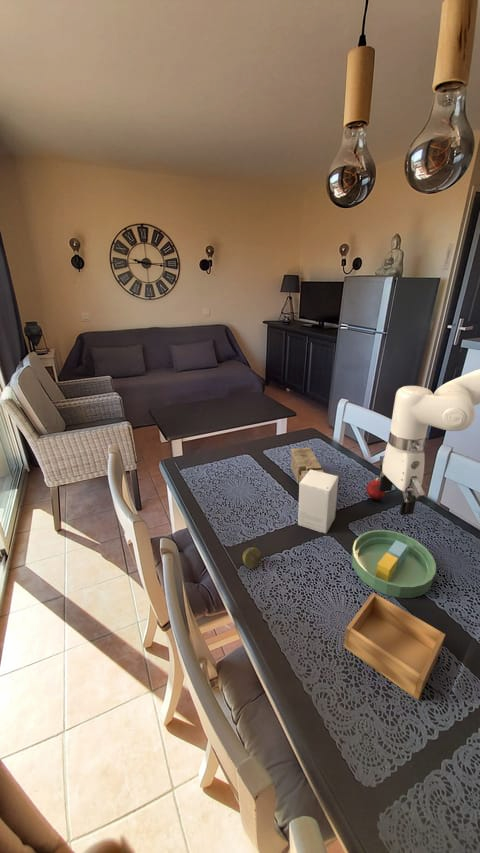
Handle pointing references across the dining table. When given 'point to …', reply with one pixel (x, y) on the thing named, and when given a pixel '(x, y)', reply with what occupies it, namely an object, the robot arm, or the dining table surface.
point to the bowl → (407, 578)
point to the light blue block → (398, 551)
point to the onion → (374, 490)
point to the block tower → (303, 462)
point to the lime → (251, 557)
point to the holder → (394, 643)
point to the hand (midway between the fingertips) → (395, 501)
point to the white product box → (317, 500)
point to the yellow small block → (386, 567)
